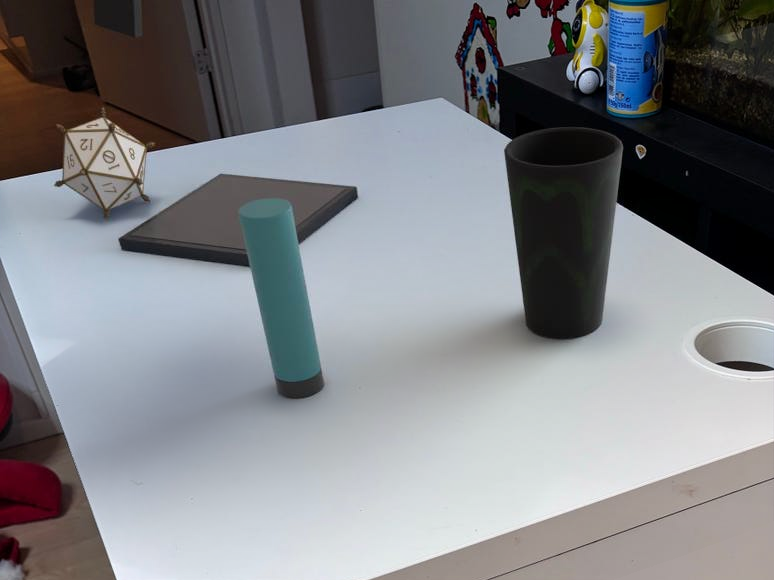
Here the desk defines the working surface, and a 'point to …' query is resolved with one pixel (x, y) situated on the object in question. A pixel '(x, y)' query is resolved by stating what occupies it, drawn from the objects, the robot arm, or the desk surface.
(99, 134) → the game die
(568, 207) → the cup
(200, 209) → the plate
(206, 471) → the desk surface
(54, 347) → the desk surface
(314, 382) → the teal cylinder
